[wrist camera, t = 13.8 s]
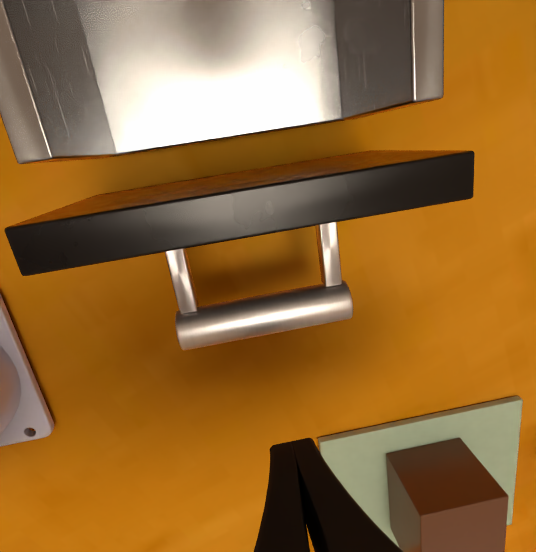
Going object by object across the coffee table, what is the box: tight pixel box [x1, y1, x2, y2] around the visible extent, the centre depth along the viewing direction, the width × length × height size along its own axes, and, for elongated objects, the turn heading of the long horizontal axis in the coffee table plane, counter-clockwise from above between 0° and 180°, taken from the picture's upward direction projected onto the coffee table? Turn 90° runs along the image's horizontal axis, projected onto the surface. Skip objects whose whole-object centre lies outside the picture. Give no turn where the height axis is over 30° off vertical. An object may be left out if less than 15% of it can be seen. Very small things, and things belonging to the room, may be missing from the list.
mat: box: [318, 396, 523, 547], centre depth 23 cm, size 12×10×1 cm
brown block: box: [386, 438, 509, 552], centre depth 21 cm, size 4×6×4 cm
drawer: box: [0, 0, 474, 350], centre depth 11 cm, size 18×11×7 cm, turn 9°
